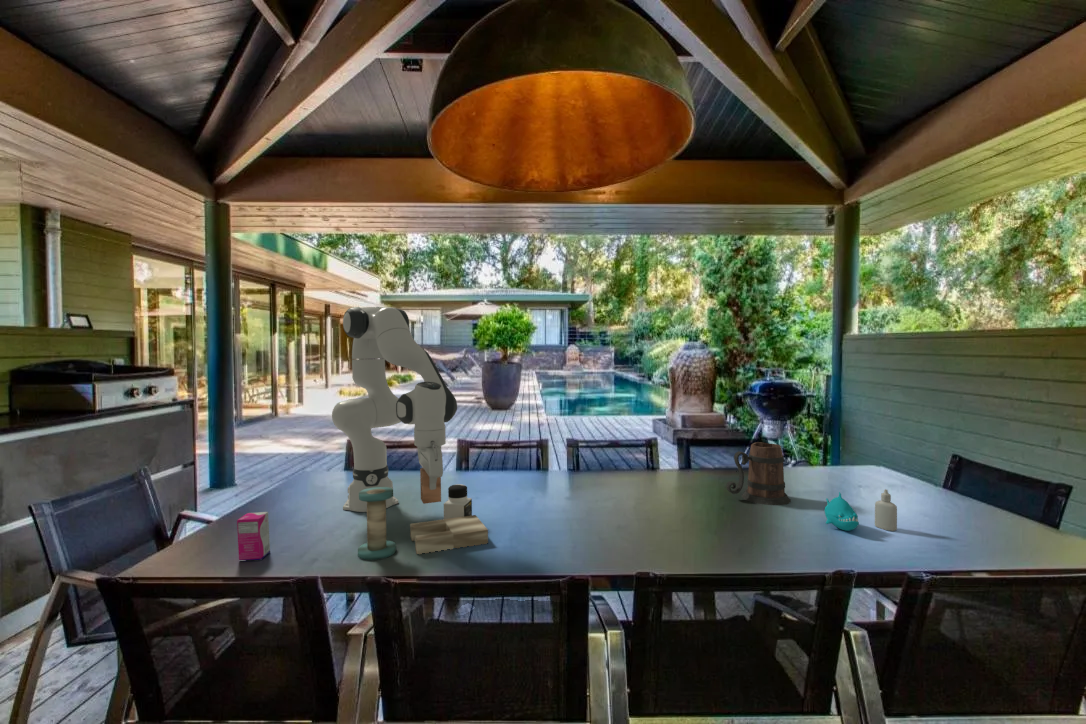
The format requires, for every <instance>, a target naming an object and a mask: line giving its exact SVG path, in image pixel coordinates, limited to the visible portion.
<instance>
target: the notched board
mask: <svg viewBox="0 0 1086 724" xmlns="http://www.w3.org/2000/svg"><path fill="white" fill-rule="evenodd" d="M409 528H410V529H409V530H410V531H409V533H410V536H409V537H410V540H411V542H414V543H415V545H414V546H415V547H414V548H415V549H414V550H415V552H416V555H417V554H419V555H423V554H422V553H425V554H430V553H429V552H431V553H436V552H435V551H438V552H442V551H441V550H444V551H448V550H447V549H450V550H454V549H453V548H457V549H461V548H460V547H463V548H468V547H467V546H469V547H474V545H475V546H481V544H482V545H488V544H489V529H488V528H487V527H486V526H485V524H484V523H483V522H482V521H481V520H480V518H479V517H478V516H477V514H472V516H464V517H457V518H450V519H444V518H443V519H436V520H430V521H428V520H427V521H422V522H414V523H410V524H409ZM487 543H488V544H487Z"/></svg>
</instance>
